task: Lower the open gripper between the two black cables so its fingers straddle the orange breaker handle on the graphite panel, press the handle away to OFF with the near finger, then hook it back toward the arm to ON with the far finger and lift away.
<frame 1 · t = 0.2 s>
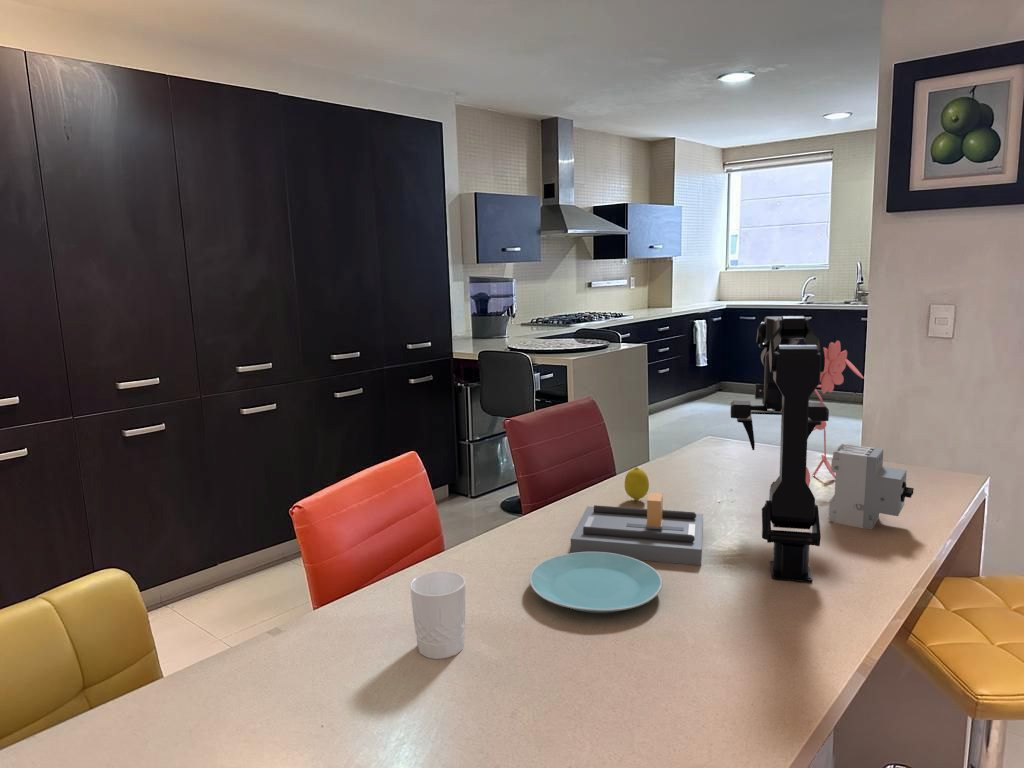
hand: (776, 450, 144), 14 cm above the table, tool pointing down, fingers open, 9 cm apart
white cup: (441, 647, 100), on the table
figurine: (826, 487, 164), on the table
breaker handle: (654, 511, 134), point 6 cm above the table, slide at 0.0 cm
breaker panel: (639, 540, 136), on the table
cables: (639, 522, 135), on the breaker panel, point 3 cm above the table
plate: (595, 593, 116), on the table
circuit breaker: (869, 523, 141), on the table
lemon: (636, 501, 159), on the table
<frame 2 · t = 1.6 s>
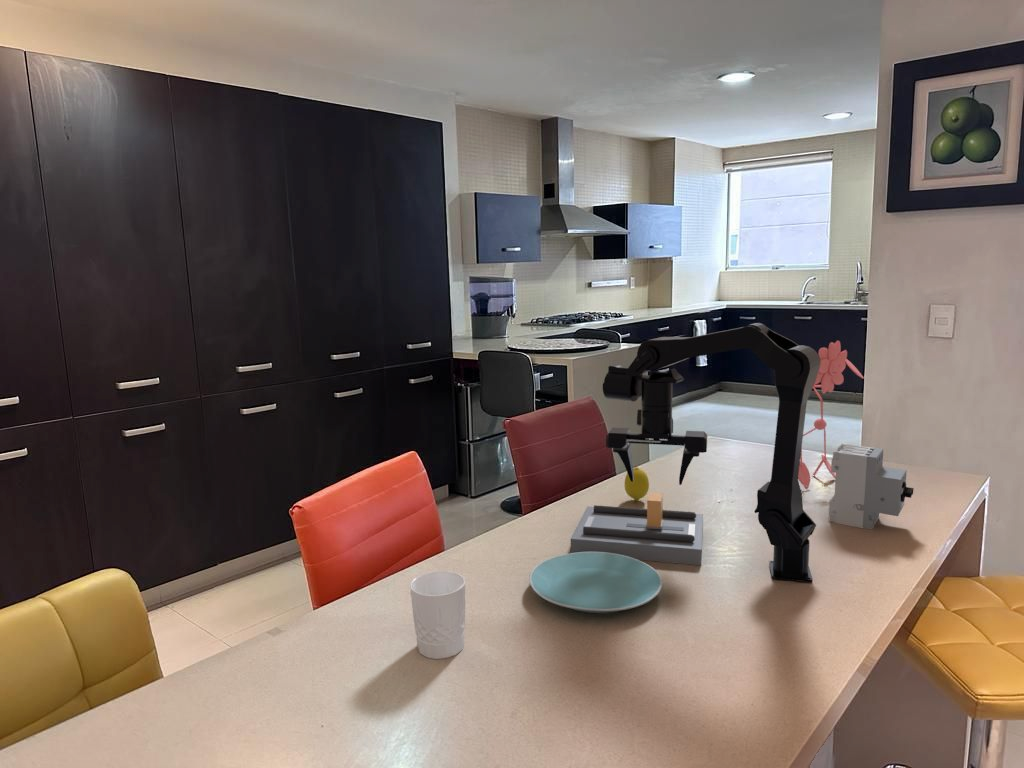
hand: (656, 482, 133), 12 cm above the table, tool pointing down, fingers open, 9 cm apart
nothing on the table moved.
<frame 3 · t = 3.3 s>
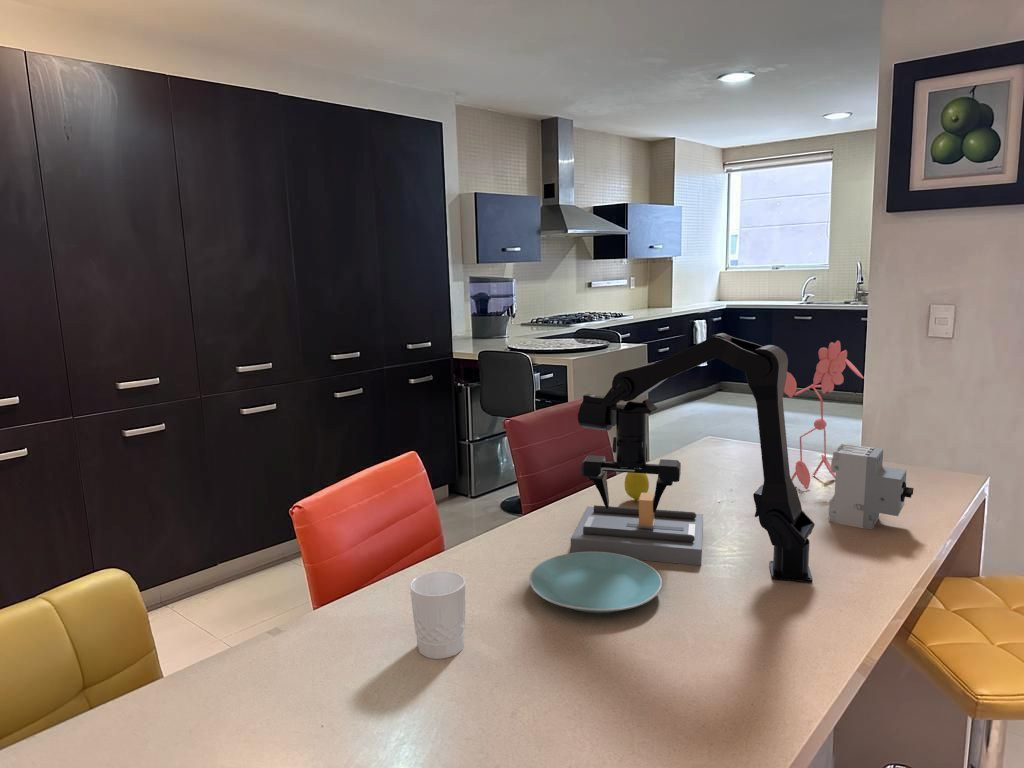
hand: (630, 509, 135), 6 cm above the table, tool pointing down, fingers open, 9 cm apart
breaker handle: (646, 510, 134), point 6 cm above the table, slide at 1.6 cm, touching gripper
everything else where it was.
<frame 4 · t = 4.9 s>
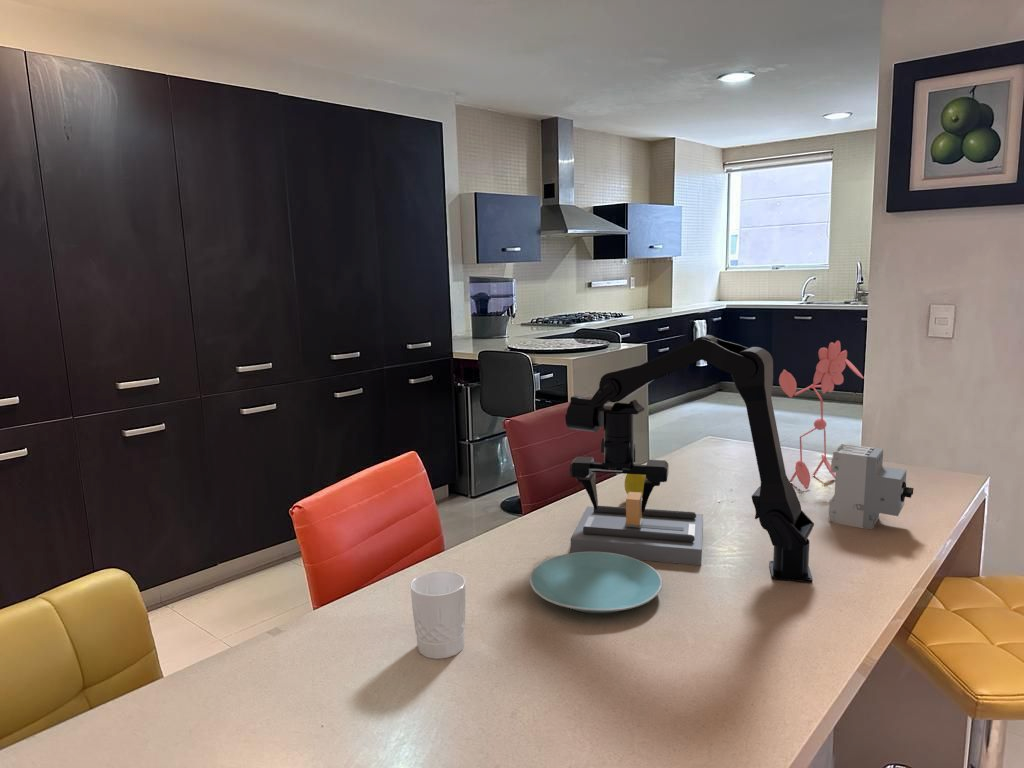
hand: (619, 510, 136), 6 cm above the table, tool pointing down, fingers open, 9 cm apart
breaker handle: (634, 509, 135), point 6 cm above the table, slide at 4.0 cm
everything else where it was.
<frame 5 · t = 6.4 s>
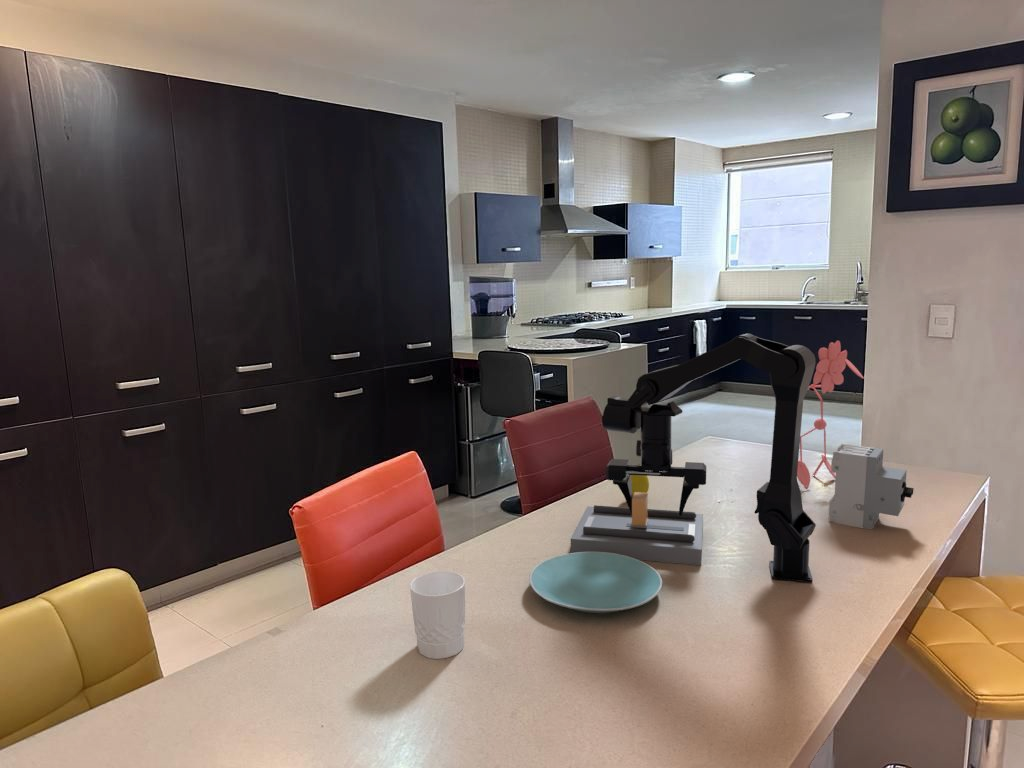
hand: (656, 513, 134), 6 cm above the table, tool pointing down, fingers open, 9 cm apart
breaker handle: (639, 510, 135), point 6 cm above the table, slide at 2.9 cm, touching gripper
everything else where it was.
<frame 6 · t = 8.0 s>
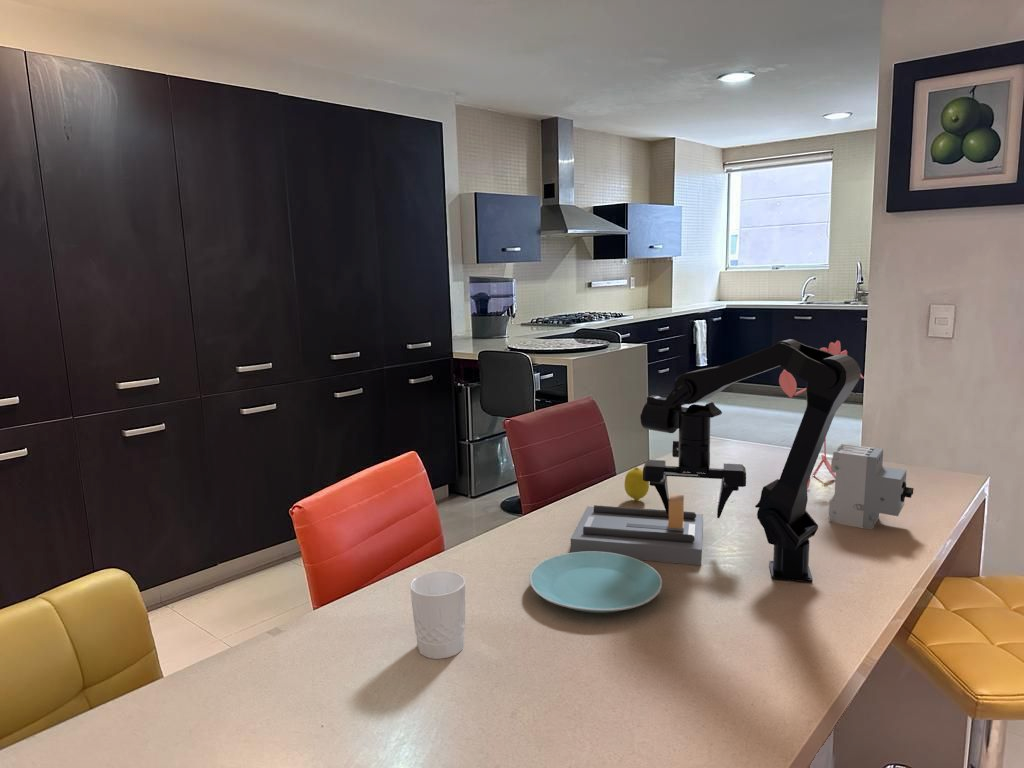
hand: (693, 515, 132), 6 cm above the table, tool pointing down, fingers open, 9 cm apart
breaker handle: (676, 512, 133), point 6 cm above the table, slide at -4.1 cm, touching gripper
everything else where it was.
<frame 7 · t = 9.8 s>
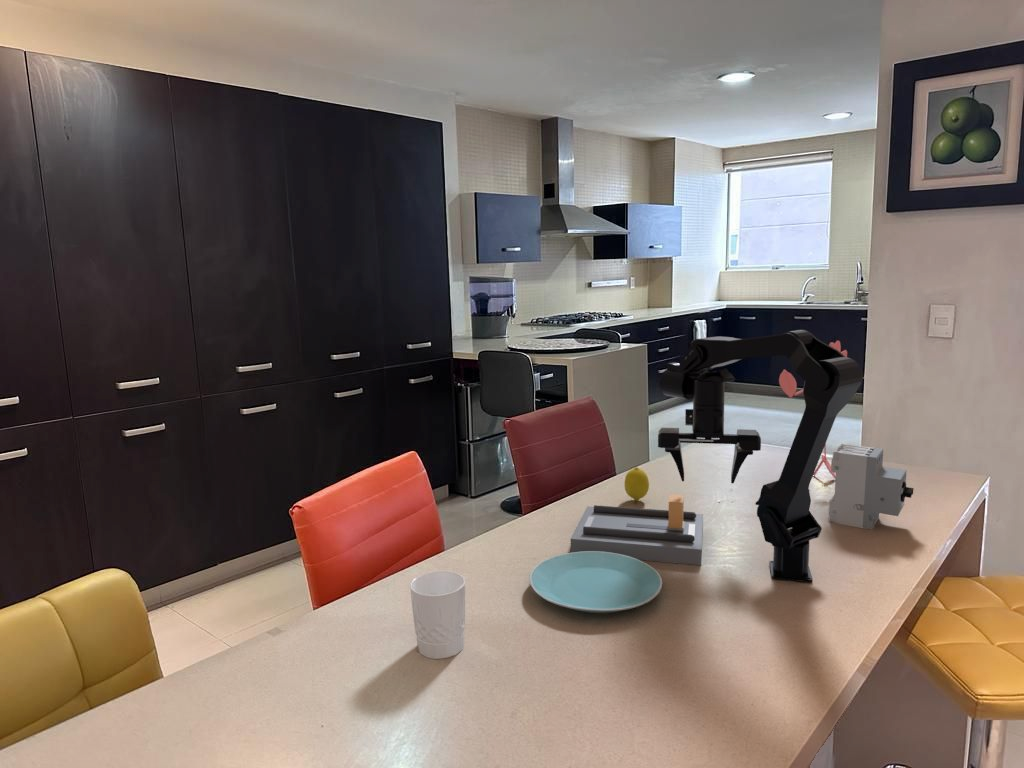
hand: (707, 481, 133), 12 cm above the table, tool pointing down, fingers open, 9 cm apart
breaker handle: (676, 512, 133), point 6 cm above the table, slide at -4.0 cm
everything else where it was.
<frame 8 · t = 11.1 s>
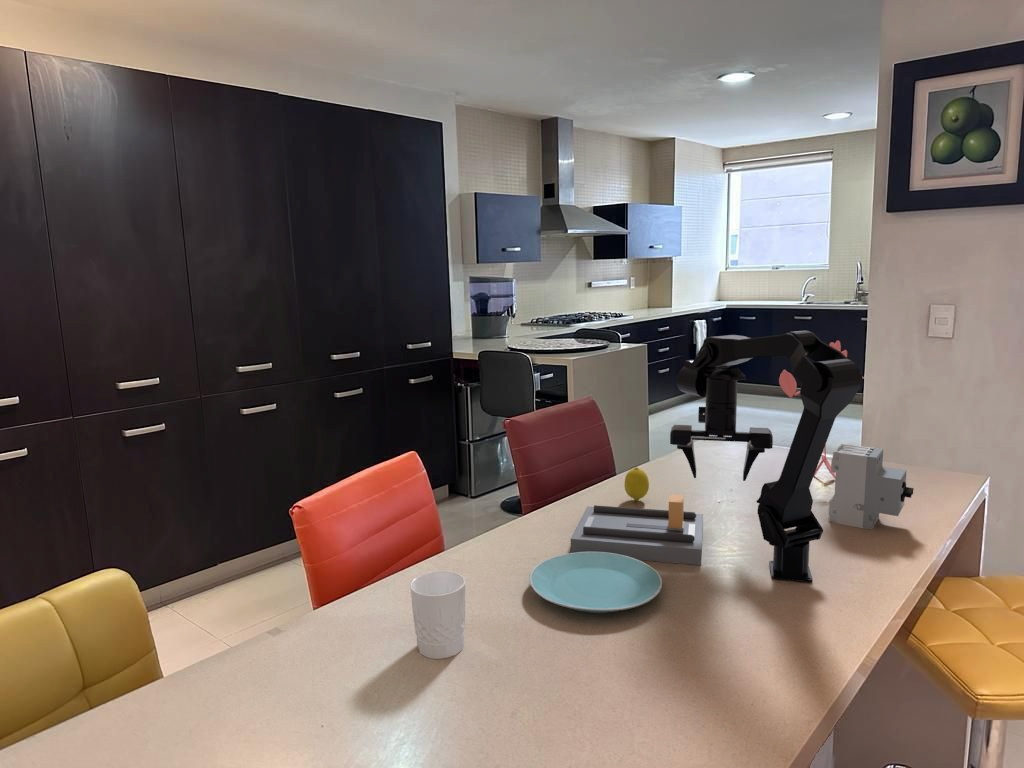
hand: (719, 478, 134), 12 cm above the table, tool pointing down, fingers open, 9 cm apart
nothing on the table moved.
at the end: breaker handle slide at -4.0 cm; circuit breaker moved 0.2 cm from its start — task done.
